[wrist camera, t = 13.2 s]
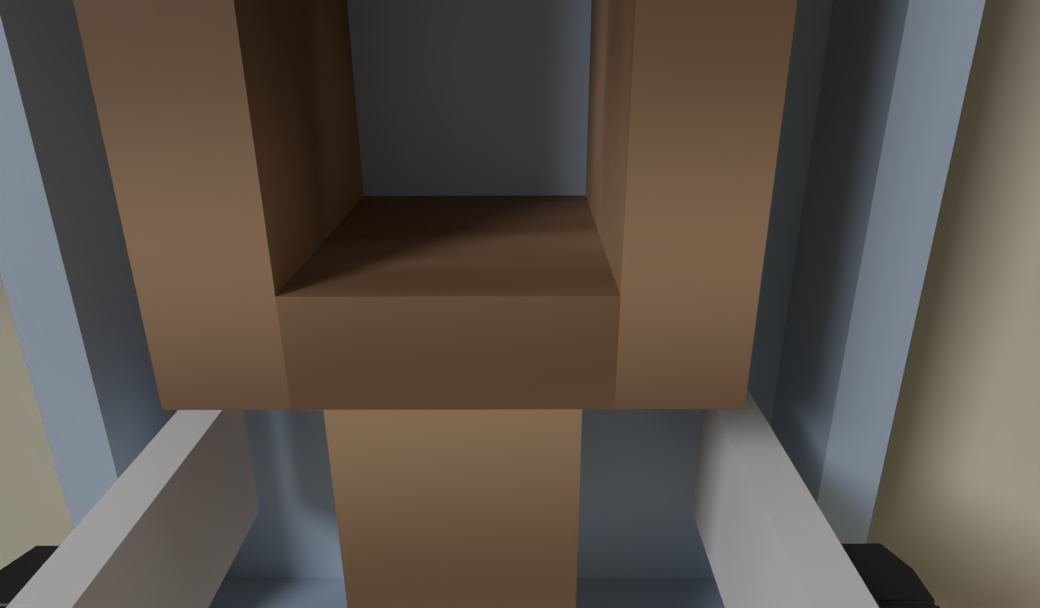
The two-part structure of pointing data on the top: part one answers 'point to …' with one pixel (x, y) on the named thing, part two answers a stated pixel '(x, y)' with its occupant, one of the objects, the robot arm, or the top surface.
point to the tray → (516, 172)
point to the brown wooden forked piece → (441, 269)
